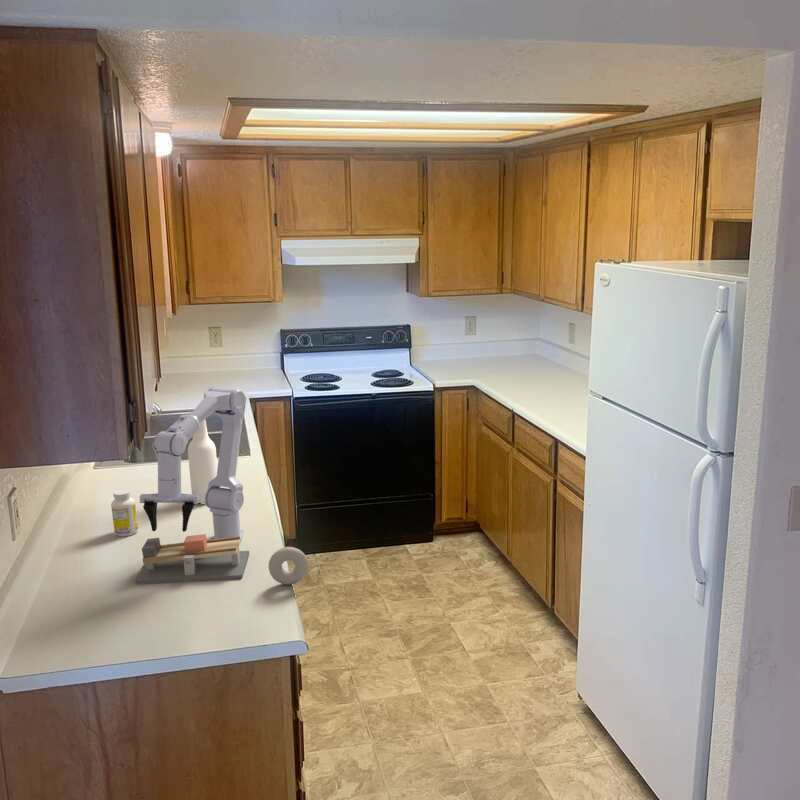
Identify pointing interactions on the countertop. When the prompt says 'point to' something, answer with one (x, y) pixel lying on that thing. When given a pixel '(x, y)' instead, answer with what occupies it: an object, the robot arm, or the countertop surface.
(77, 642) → the countertop surface
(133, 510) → the supplement bottle
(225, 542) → the beam
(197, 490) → the alcohol
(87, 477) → the countertop surface
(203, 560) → the tilt stand
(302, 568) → the donut
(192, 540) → the block
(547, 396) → the countertop surface
